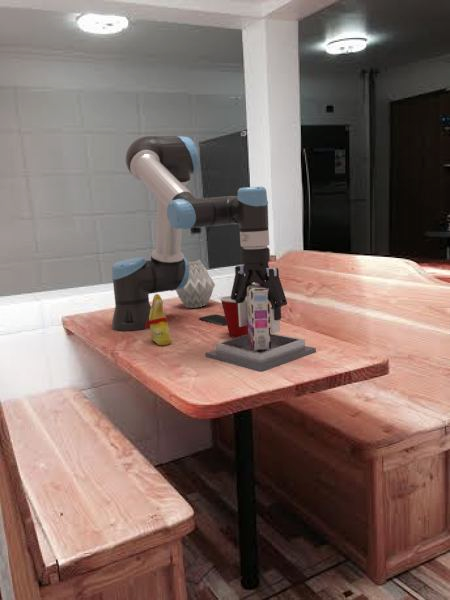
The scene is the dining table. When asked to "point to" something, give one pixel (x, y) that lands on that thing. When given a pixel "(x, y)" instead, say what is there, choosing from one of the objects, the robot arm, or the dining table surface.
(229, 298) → the plastic cup
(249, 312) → the candy bar box
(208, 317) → the phone
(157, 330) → the chocolate bunny
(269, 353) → the grey square tray
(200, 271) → the vase
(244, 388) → the dining table surface
